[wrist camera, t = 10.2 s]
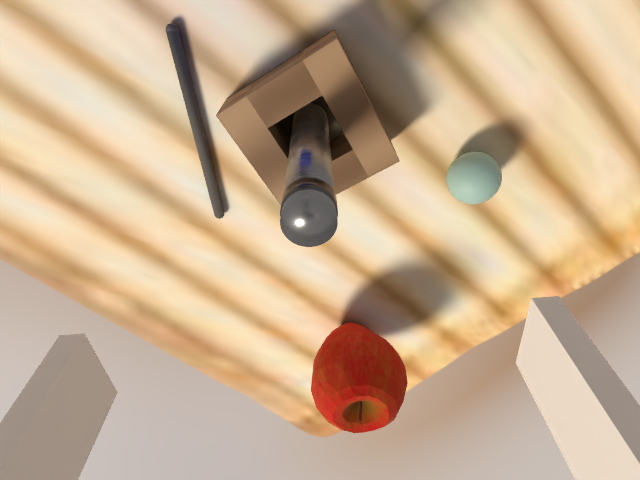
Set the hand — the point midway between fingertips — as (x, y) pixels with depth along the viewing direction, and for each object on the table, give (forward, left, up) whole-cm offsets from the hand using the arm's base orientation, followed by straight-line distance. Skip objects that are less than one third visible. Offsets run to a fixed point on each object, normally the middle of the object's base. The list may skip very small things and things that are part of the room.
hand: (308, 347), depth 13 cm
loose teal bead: (+5, +12, -22) cm, 26 cm away
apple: (+22, +2, -23) cm, 32 cm away
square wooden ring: (0, 0, -22) cm, 23 cm away
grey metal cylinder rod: (0, 0, -22) cm, 23 cm away
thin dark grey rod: (0, -8, -22) cm, 24 cm away
